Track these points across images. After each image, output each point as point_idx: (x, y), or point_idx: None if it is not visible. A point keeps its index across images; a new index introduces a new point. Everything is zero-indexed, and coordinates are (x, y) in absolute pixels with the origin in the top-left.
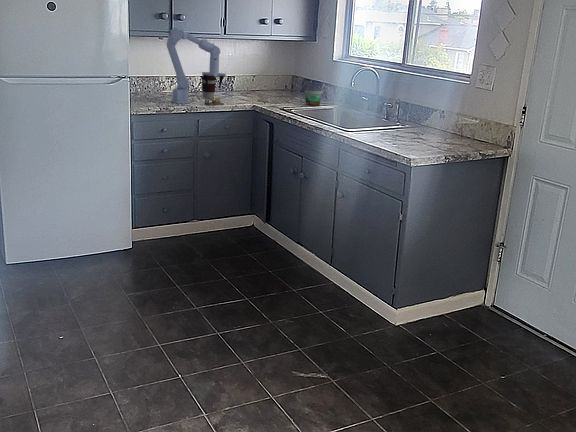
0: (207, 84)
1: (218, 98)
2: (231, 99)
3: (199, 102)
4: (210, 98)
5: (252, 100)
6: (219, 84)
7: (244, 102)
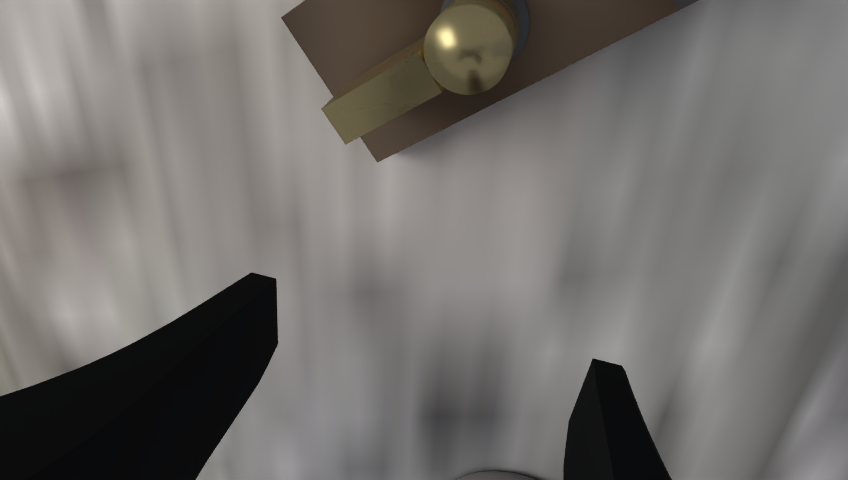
0: (607, 424)
1: (361, 84)
2: (234, 431)
3: (743, 198)
4: (486, 471)
5: (17, 385)
6: (201, 337)
7: (55, 269)
